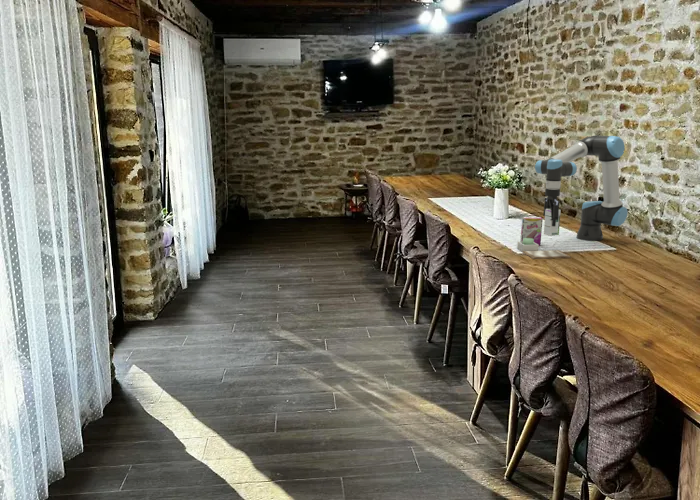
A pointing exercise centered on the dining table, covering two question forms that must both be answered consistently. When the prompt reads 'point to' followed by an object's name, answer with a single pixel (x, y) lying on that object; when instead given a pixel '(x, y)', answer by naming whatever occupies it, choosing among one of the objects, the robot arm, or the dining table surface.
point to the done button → (528, 241)
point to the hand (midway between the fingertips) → (549, 230)
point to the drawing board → (546, 254)
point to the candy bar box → (531, 228)
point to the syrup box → (547, 223)
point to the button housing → (527, 247)
